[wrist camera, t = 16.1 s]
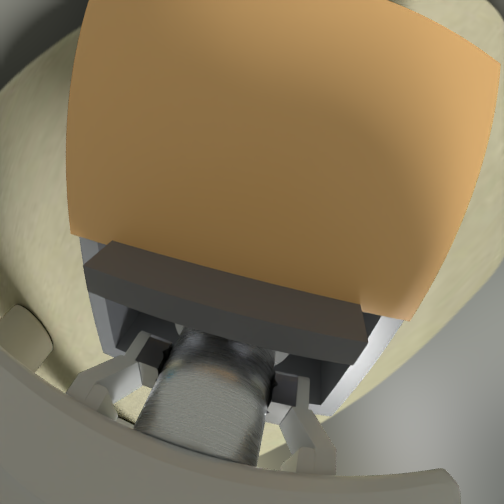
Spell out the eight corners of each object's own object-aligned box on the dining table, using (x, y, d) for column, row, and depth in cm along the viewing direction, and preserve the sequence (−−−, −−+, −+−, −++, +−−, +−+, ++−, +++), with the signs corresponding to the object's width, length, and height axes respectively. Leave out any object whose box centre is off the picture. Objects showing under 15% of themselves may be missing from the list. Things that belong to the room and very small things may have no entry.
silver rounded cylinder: (312, 286, 13) (307, 457, 6) (278, 366, 15) (257, 493, 8) (186, 253, 13) (89, 389, 6) (180, 338, 16) (124, 453, 9)
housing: (330, 362, 20) (331, 416, 16) (134, 309, 21) (103, 352, 16) (427, 138, 12) (477, 154, 7) (140, 76, 12) (81, 72, 8)
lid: (395, 324, 11) (409, 372, 9) (83, 243, 12) (46, 273, 9) (489, 65, 5) (535, 62, 3) (103, -6, 6) (59, -21, 4)
